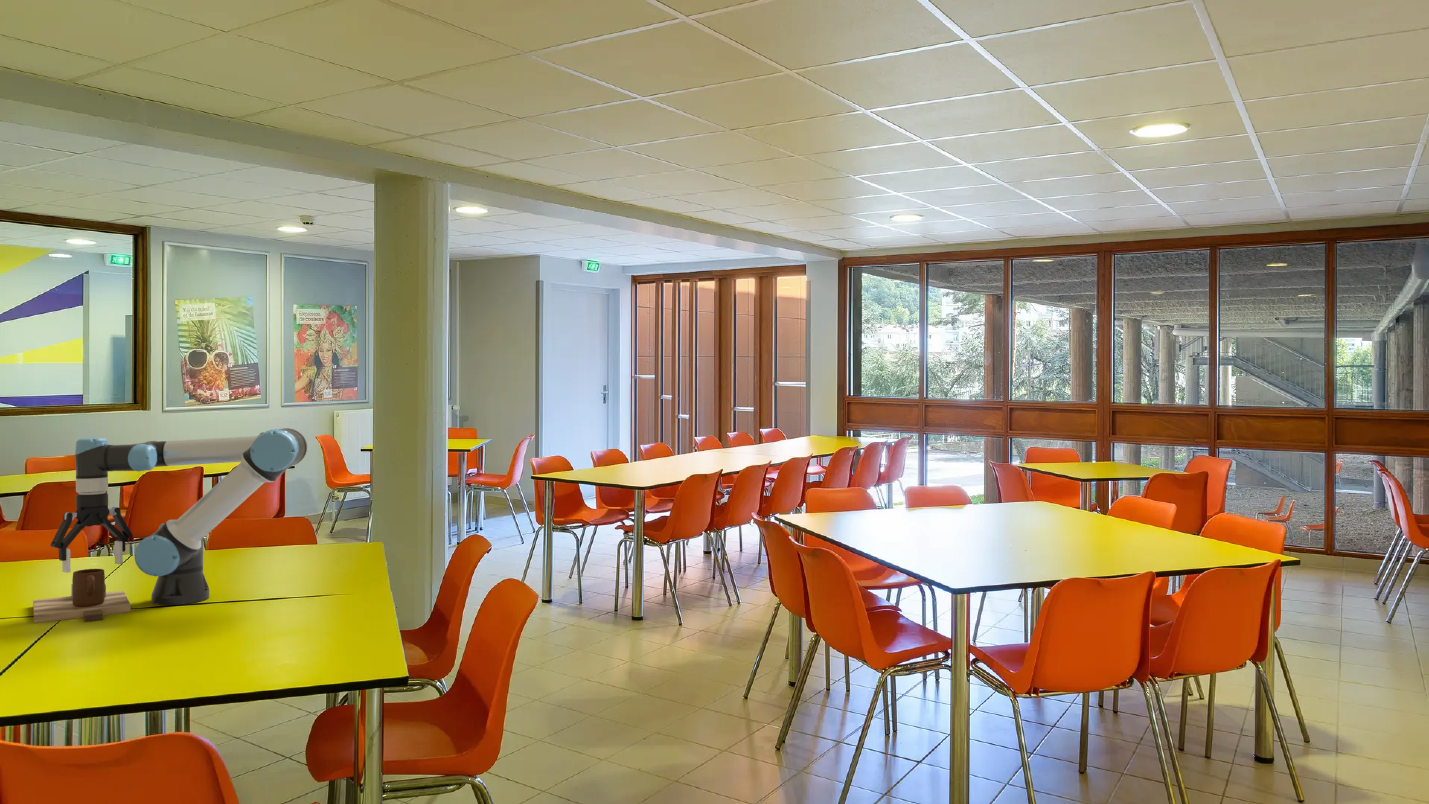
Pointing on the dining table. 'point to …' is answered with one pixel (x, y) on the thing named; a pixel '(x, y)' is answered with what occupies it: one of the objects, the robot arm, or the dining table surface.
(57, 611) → the board
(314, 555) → the dining table surface
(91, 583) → the mug
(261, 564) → the dining table surface
